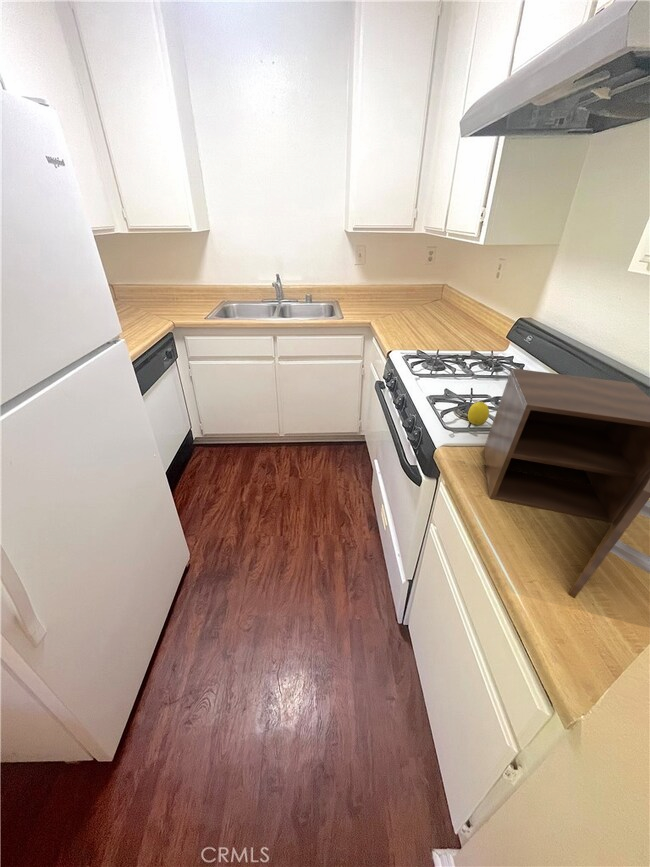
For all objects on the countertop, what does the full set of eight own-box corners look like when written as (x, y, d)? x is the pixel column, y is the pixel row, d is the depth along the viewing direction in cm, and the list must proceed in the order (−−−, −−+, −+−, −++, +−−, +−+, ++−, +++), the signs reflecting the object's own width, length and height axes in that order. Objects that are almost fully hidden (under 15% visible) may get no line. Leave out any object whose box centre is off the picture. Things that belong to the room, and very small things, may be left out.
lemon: (488, 430, 101) (496, 406, 97) (470, 431, 100) (478, 407, 96) (478, 420, 106) (485, 396, 101) (461, 421, 105) (468, 398, 100)
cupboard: (612, 523, 72) (681, 426, 58) (489, 499, 77) (527, 404, 64) (584, 470, 86) (634, 383, 73) (482, 453, 91) (511, 368, 78)
